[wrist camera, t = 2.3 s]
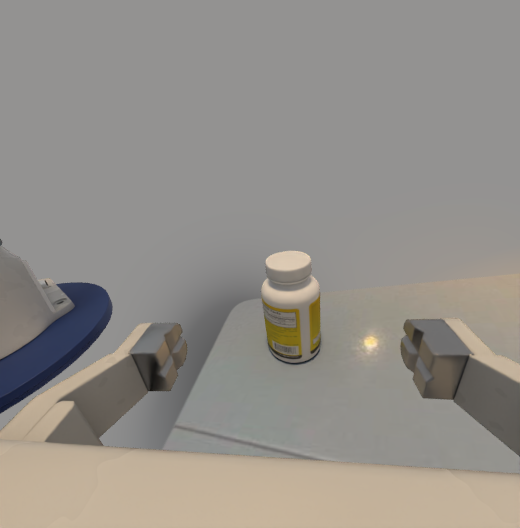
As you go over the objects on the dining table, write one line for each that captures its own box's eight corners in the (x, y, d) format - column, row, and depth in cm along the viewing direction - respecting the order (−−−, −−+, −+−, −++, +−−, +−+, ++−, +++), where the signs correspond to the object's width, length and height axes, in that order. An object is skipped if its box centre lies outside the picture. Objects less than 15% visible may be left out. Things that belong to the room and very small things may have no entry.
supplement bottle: (305, 321, 28) (303, 243, 24) (330, 354, 24) (333, 265, 19) (261, 334, 27) (250, 254, 23) (278, 372, 23) (268, 280, 18)
